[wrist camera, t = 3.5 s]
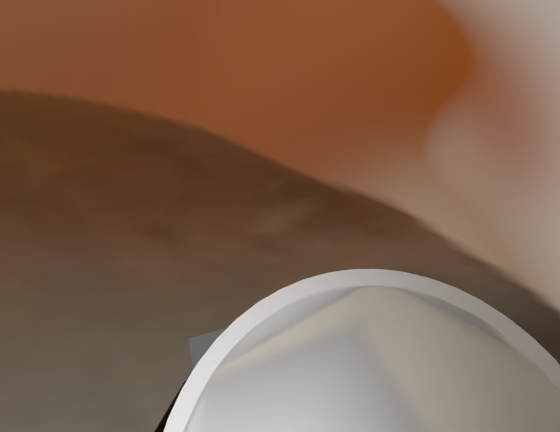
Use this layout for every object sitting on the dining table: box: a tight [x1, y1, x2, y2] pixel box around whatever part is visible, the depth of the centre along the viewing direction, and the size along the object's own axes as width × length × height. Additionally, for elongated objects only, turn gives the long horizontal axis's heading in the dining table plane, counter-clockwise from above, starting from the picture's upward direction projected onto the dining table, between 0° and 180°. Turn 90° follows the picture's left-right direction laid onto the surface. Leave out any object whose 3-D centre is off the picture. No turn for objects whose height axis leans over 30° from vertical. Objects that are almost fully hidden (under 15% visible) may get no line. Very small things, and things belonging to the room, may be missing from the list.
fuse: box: [164, 269, 560, 432], centre depth 8 cm, size 4×4×12 cm
